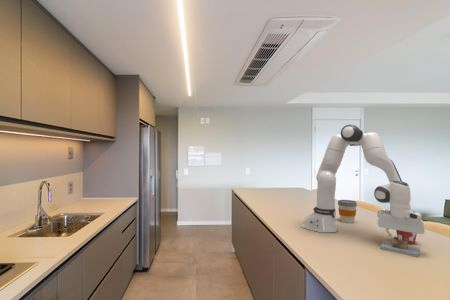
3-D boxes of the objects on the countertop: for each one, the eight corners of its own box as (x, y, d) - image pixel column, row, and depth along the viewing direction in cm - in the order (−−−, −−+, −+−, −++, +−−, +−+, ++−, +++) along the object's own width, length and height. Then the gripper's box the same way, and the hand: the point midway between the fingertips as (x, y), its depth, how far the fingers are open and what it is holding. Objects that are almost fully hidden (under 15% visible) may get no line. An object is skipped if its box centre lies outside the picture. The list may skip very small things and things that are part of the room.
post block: (380, 248, 135) (380, 234, 135) (384, 243, 144) (384, 229, 144) (418, 257, 124) (418, 241, 124) (420, 250, 133) (420, 235, 134)
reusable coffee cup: (360, 224, 183) (360, 203, 183) (342, 223, 183) (342, 202, 183) (351, 219, 195) (351, 199, 196) (335, 219, 196) (335, 199, 196)
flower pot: (390, 239, 149) (390, 223, 150) (403, 237, 153) (403, 221, 153) (409, 246, 139) (409, 228, 140) (422, 243, 143) (422, 226, 143)
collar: (392, 246, 134) (392, 239, 134) (394, 243, 138) (394, 236, 138) (406, 249, 130) (406, 241, 130) (407, 246, 134) (407, 239, 134)
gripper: (376, 210, 139) (376, 235, 139) (424, 216, 125) (424, 245, 125) (378, 208, 144) (378, 233, 143) (424, 214, 130) (424, 241, 130)
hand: (400, 238), depth 134 cm, fingers open, 8 cm apart
